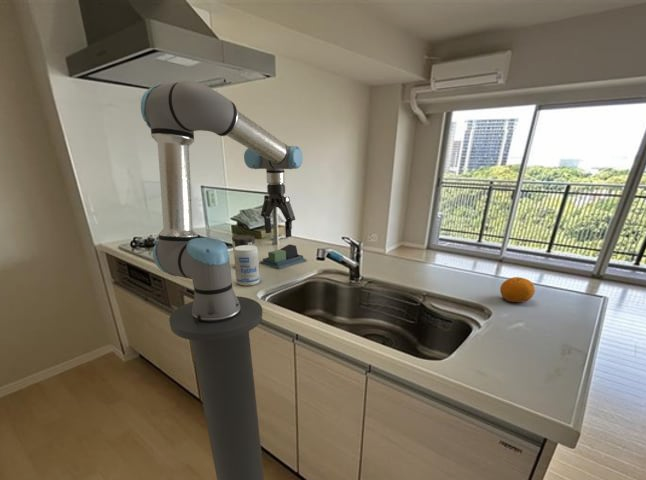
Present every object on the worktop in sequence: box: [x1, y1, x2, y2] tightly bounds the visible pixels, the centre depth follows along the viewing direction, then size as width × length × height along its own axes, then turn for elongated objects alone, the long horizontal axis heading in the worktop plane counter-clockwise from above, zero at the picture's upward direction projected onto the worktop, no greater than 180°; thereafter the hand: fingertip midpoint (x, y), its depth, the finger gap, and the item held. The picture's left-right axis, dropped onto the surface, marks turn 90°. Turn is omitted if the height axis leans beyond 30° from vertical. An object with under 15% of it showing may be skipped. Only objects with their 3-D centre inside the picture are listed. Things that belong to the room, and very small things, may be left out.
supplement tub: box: [233, 245, 261, 287], centre depth 137 cm, size 10×10×15 cm
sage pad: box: [267, 249, 286, 262], centre depth 163 cm, size 7×5×5 cm
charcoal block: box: [279, 243, 299, 260], centre depth 168 cm, size 7×5×5 cm
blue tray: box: [259, 254, 307, 270], centre depth 167 cm, size 18×14×2 cm
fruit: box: [499, 276, 536, 303], centre depth 118 cm, size 10×10×8 cm
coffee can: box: [231, 234, 256, 261], centre depth 158 cm, size 10×10×14 cm
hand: (278, 234), depth 150 cm, fingers open, 13 cm apart
